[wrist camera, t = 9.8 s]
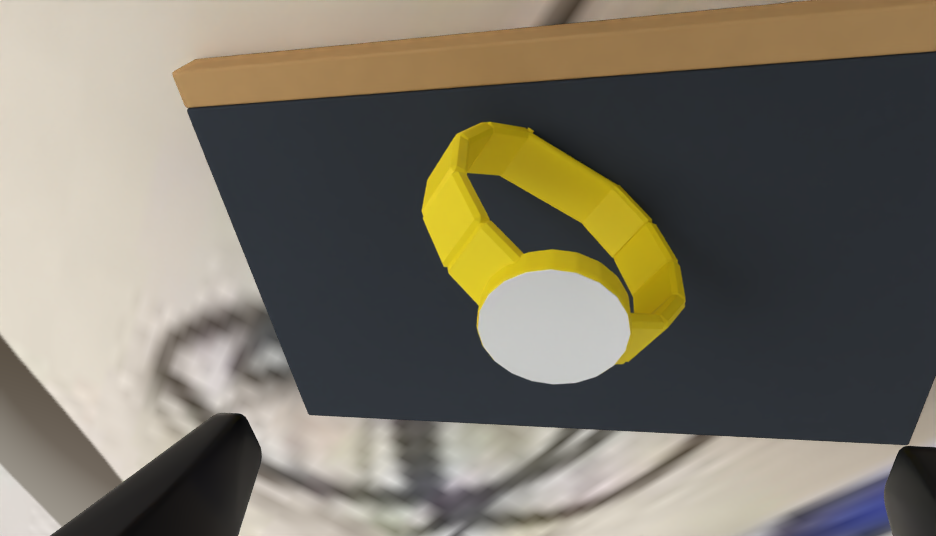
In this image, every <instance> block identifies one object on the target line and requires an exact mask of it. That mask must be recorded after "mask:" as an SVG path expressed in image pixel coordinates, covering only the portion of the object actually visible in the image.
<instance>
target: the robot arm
mask: <svg viewBox="0 0 936 536" xmlns="http://www.w3.org/2000/svg"><path fill="white" fill-rule="evenodd" d="M261 458H262V453H261V447H260V445H259V443H258V441H257V439H256V437H255V435H254V432H253V430H252V428H251V426H250V424H249V422H248V420H247V419H246V417H245V416H243V415H242V414H238V413H218V414H215V415H214V416H212V417H210V418H209V419H208V420H206V421H205V422H204V423H202V424H201V425H200V426H198V427H197V428H196V429H194V430H193V431H191V432H190V433H189V434H187V435H186V436H185V437H183V438H182V439H181V440H179V441H178V442H177V443H175V444H174V445H173V446H171V447H170V448H168V449H167V450H166V451H164V452H163V453H162V454H160V455H159V456H158V457H156V458H155V459H154V460H152V461H151V462H149V463H148V464H147V465H145V466H144V467H143V468H141V469H140V470H139V471H137V472H136V473H135V474H133V475H132V476H131V477H129V478H128V479H126V480H125V481H124V482H122V483H121V484H120V485H118V486H117V487H116V488H114V489H113V490H112V491H110V492H109V493H107V494H106V495H105V496H103V497H102V498H101V499H99V500H98V501H97V502H95V503H94V504H93V505H91V506H90V507H89V508H87V509H86V510H84V511H83V512H82V513H80V514H79V515H78V516H76V517H75V518H74V519H72V520H71V521H70V522H68V523H67V524H66V525H64V526H63V527H61V528H60V529H59V530H57V531H56V532H55V533H53V534H52V535H51V536H238V534H239V531H240V528H241V524H242V521H243V518H244V515H245V512H246V508H247V505H248V502H249V499H250V496H251V493H252V489H253V486H254V483H255V480H256V477H257V474H258V470H259V467H260V464H261ZM884 501H885V507H886V511H887V515H888V519H889V523H890V527H891V530H892V534H893V536H936V448H935V447H918V446H905V447H903V448H902V449H900V450H899V452H898V454H897V456H896V459H895V461H894V464H893V467H892V469H891V472H890V475H889V477H888V480H887V482H886V485H885V490H884Z"/></svg>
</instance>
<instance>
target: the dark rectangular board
mask: <svg viewBox="0 0 936 536" xmlns="http://www.w3.org/2000/svg"><path fill="white" fill-rule="evenodd" d="M172 74H173V77H174V80H175V82H176V85H177V87H178V90H179V92H180V95H181V97H182V100H183V102H184V105H185V106H186V107H187V108H188V110H187V112H188V115H189V117H190V120H191V122H192V125H193V127H194V130H195V132H196V135H197V137H198V140H199V142H200V145H201V147H202V150H203V152H204V155H205V157H206V160H207V162H208V165H209V167H210V170H211V172H212V175H213V177H214V180H215V182H216V185H217V187H218V190H219V192H220V195H221V197H222V200H223V202H224V205H225V207H226V210H227V212H228V215H229V217H230V220H231V222H232V225H233V227H234V230H235V232H236V235H237V237H238V240H239V242H240V245H241V247H242V249H243V252H244V254H245V257H246V259H247V262H248V264H249V267H250V269H251V272H252V274H253V277H254V279H255V282H256V284H257V287H258V289H259V292H260V294H261V297H262V299H263V302H264V304H265V307H266V309H267V312H268V314H269V317H270V319H271V322H272V324H273V327H274V329H275V332H276V334H277V337H278V339H279V342H280V344H281V347H282V349H283V352H284V354H285V357H286V359H287V362H288V364H289V367H290V369H291V372H292V374H293V377H294V379H295V382H296V384H297V387H298V389H299V392H300V394H301V397H302V399H303V402H304V404H305V407H306V409H307V412H308V414H309V415H319V416H339V417H359V418H379V419H398V420H418V421H438V422H458V423H478V424H498V425H517V426H537V427H557V428H577V429H597V430H617V431H636V432H656V433H676V434H696V435H716V436H735V437H755V438H775V439H795V440H815V441H835V442H854V443H874V444H894V445H908V444H909V442H910V439H911V437H912V434H913V432H914V429H915V427H916V424H917V422H918V419H919V417H920V414H921V412H922V409H923V407H924V404H925V402H926V399H927V397H928V394H929V391H930V389H931V386H932V384H933V381H934V379H935V376H936V0H811V1H800V2H790V3H779V4H769V5H759V6H748V7H738V8H727V9H717V10H706V11H696V12H685V13H675V14H664V15H654V16H643V17H633V18H623V19H612V20H602V21H591V22H581V23H570V24H560V25H549V26H539V27H528V28H518V29H508V30H497V31H487V32H476V33H466V34H455V35H445V36H434V37H424V38H413V39H403V40H392V41H382V42H372V43H361V44H351V45H340V46H330V47H319V48H309V49H298V50H288V51H277V52H267V53H257V54H246V55H236V56H225V57H215V58H204V59H195V60H194V61H192V62H190V63H188V64H186V65H184V66H183V67H181V68H179V69H177V70H175V71H174V72H173V73H172ZM482 122H495V123H501V124H507V125H513V126H518V127H524V128H526V129H528V127H529V128H530V129H532V130H533V131H534V132H533V134H535V135H536V136H538V137H539V138H541V139H543V140H544V141H546V142H548V143H549V144H551V145H553V146H554V147H556V148H558V149H559V150H561V151H563V152H564V153H566V154H568V155H569V156H571V157H572V158H574V159H576V160H577V161H579V162H581V163H582V164H584V165H586V166H587V167H589V168H591V169H592V170H594V171H596V172H597V173H599V174H601V175H602V176H604V177H605V178H607V179H609V180H610V181H612V182H614V183H615V184H617V185H620V186H621V187H622V188H623V189H624V190H625V191H626V192H627V194H628V195H629V196H630V197H631V198H632V199H633V200H634V201H635V202H636V203H637V204H638V205H639V206H640V207H641V208H642V209H643V210H644V211H645V212H646V214H647V215H648V216H649V217H650V218H651V219H652V223H653V224H656V225H657V227H658V229H659V230H660V232H661V234H662V235H663V237H664V238H665V240H666V242H667V243H668V245H669V247H670V248H671V250H672V252H673V253H674V255H675V257H676V258H677V260H678V264H679V265H680V269H681V275H682V281H683V287H684V293H685V301H686V302H685V307H684V309H683V310H682V311H681V312H680V314H679V315H678V316H677V317H676V318H675V320H674V321H673V322H672V323H671V325H670V326H669V327H668V328H667V329H666V330H665V331H663V332H662V333H661V334H660V335H659V336H658V337H656V338H655V339H654V340H653V341H652V342H651V343H650V344H648V345H647V346H646V347H645V348H644V349H643V350H641V351H640V352H639V353H638V354H637V355H636V356H635V357H633V358H632V359H631V360H630V361H629V362H625V363H624V364H615V365H614V366H612V367H611V368H609V369H608V370H606V371H605V372H603V373H601V374H600V375H598V376H597V377H593V378H590V379H587V380H584V381H580V382H577V383H567V384H548V383H541V382H535V381H530V380H528V379H525V378H523V377H520V376H518V375H515V374H513V373H511V372H509V371H508V370H507V369H505V368H504V367H502V366H501V365H499V364H498V363H497V362H495V361H494V360H493V359H492V357H491V356H490V355H489V353H488V352H487V351H486V350H485V348H484V347H483V345H482V343H481V340H480V337H479V334H478V331H477V315H478V308H479V306H478V304H477V303H476V302H475V301H474V300H473V299H472V298H471V297H470V296H469V295H468V294H467V293H466V292H465V291H464V290H463V288H462V287H461V286H460V285H459V284H458V283H457V282H456V281H455V280H454V279H453V278H452V277H451V276H450V275H449V274H448V267H444V266H443V264H442V261H441V259H440V257H439V255H438V252H437V250H436V248H435V245H434V243H433V241H432V238H431V236H430V234H429V232H428V229H427V227H426V225H425V222H424V220H423V217H424V216H423V214H422V206H423V201H424V195H425V190H426V184H427V180H428V178H429V176H430V175H431V173H432V172H433V170H434V168H435V167H436V165H437V164H438V162H439V161H440V159H441V157H442V156H443V154H444V153H445V151H446V149H447V148H448V146H449V145H450V143H451V142H452V140H453V138H454V137H455V136H456V134H457V133H459V132H462V131H464V130H466V129H468V128H470V127H472V126H475V125H477V124H479V123H482ZM467 176H468V178H469V180H470V182H471V184H472V186H473V188H474V190H475V192H476V194H477V196H478V197H479V199H480V201H481V203H482V205H483V207H484V209H485V211H486V213H487V215H488V217H489V219H490V221H492V222H493V223H494V224H495V225H496V226H497V227H498V228H499V229H500V230H501V231H502V232H503V233H504V234H505V235H506V236H507V237H508V238H509V239H510V240H511V241H512V242H513V243H514V244H515V245H516V246H517V247H518V248H519V249H520V250H521V251H522V252H523V253H524V254H525V253H528V252H534V251H542V250H550V249H555V250H563V251H570V252H577V253H580V254H582V255H585V256H587V257H589V258H592V259H594V260H597V261H599V262H600V263H602V264H603V265H604V266H606V267H607V268H608V269H609V270H610V271H612V272H613V273H614V274H615V275H616V276H617V277H618V278H619V280H620V282H621V283H622V285H623V287H624V288H625V290H626V292H627V294H628V297H629V304H630V312H631V313H634V304H633V296H632V294H631V292H630V290H629V288H628V286H627V284H626V282H625V281H624V279H623V277H622V275H621V273H620V271H619V269H618V267H617V265H616V263H615V261H614V258H612V257H611V256H610V255H609V254H608V252H607V251H606V250H605V249H604V248H603V247H602V246H601V245H600V244H599V242H598V241H597V240H596V239H595V238H594V237H593V236H592V235H591V233H590V232H589V231H588V230H587V229H586V228H585V227H584V226H583V224H582V223H580V222H579V221H577V220H575V219H573V218H572V217H570V216H568V215H567V214H565V213H563V212H561V211H560V210H558V209H556V208H554V207H553V206H551V205H549V204H548V203H546V202H544V201H542V200H541V199H539V198H537V197H535V196H534V195H532V194H530V193H529V192H527V191H525V190H523V189H522V188H520V187H518V186H516V185H515V184H513V183H511V182H510V181H508V180H506V179H504V178H503V177H501V176H498V175H487V174H475V173H467Z"/></svg>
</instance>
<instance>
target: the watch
mask: <svg viewBox="0 0 936 536" xmlns="http://www.w3.org/2000/svg"><path fill="white" fill-rule="evenodd" d="M533 132H534V131H533V130H532V129H530V128H529V127H528V129H526V128H524V127H518V126H513V125H507V124H501V123H495V122H482V123H479V124H477V125H475V126H472V127H470V128H468V129H466V130H464V131H462V132H459V133H457V134H456V136H455V137H454V138H453V140H452V142H451V143H450V145H449V146H448V148H447V149H446V151H445V153H444V154H443V156H442V157H441V159H440V161H439V162H438V164H437V165H436V167H435V168H434V170H433V172H432V173H431V175H430V176H429V178H428V180H427V184H426V190H425V195H424V201H423V206H422V214H423V216H424V217H423V220H424V222H425V225H426V227H427V229H428V232H429V234H430V236H431V238H432V241H433V243H434V245H435V248H436V250H437V252H438V255H439V257H440V259H441V261H442V264H443V266H444V267H448V274H449V275H450V276H451V277H452V278H453V279H454V280H455V281H456V282H457V283H458V284H459V285H460V286H461V287H462V288H463V290H464V291H465V292H466V293H467V294H468V295H469V296H470V297H471V298H472V299H473V300H474V301H475V302H476V303H477V304H478V306H479V308H478V315H477V331H478V334H479V337H480V340H481V343H482V345H483V347H484V348H485V350H486V351H487V352H488V353H489V355H490V356H491V357H492V359H493V360H494V361H495V362H497V363H498V364H499V365H501V366H502V367H504V368H505V369H507V370H508V371H509V372H511V373H513V374H515V375H518V376H520V377H523V378H525V379H528V380H530V381H535V382H541V383H548V384H567V383H577V382H580V381H584V380H587V379H590V378H593V377H597V376H598V375H600V374H601V373H603V372H605V371H606V370H608V369H609V368H611V367H612V366H614V365H615V364H624V363H625V362H629V361H630V360H631V359H632V358H633V357H635V356H636V355H637V354H638V353H639V352H640V351H641V350H643V349H644V348H645V347H646V346H647V345H648V344H650V343H651V342H652V341H653V340H654V339H655V338H656V337H658V336H659V335H660V334H661V333H662V332H663V331H665V330H666V329H667V328H668V327H669V326H670V325H671V323H672V322H673V321H674V320H675V318H676V317H677V316H678V315H679V314H680V312H681V311H682V310H683V309H684V307H685V302H686V301H685V293H684V287H683V281H682V275H681V269H680V265H679V264H678V260H677V258H676V257H675V255H674V253H673V252H672V250H671V248H670V247H669V245H668V243H667V242H666V240H665V238H664V237H663V235H662V234H661V232H660V230H659V229H658V227H657V225H656V224H653V223H652V219H651V218H650V217H649V216H648V215H647V214H646V212H645V211H644V210H643V209H642V208H641V207H640V206H639V205H638V204H637V203H636V202H635V201H634V200H633V199H632V198H631V197H630V196H629V195H628V194H627V192H626V191H625V190H624V189H623V188H622V187H621V186H620V185H617V184H615V183H614V182H612V181H610V180H609V179H607V178H605V177H604V176H602V175H601V174H599V173H597V172H596V171H594V170H592V169H591V168H589V167H587V166H586V165H584V164H582V163H581V162H579V161H577V160H576V159H574V158H572V157H571V156H569V155H568V154H566V153H564V152H563V151H561V150H559V149H558V148H556V147H554V146H553V145H551V144H549V143H548V142H546V141H544V140H543V139H541V138H539V137H538V136H536V135H535V134H533ZM467 173H475V174H487V175H498V176H501V177H503V178H504V179H506V180H508V181H510V182H511V183H513V184H515V185H516V186H518V187H520V188H522V189H523V190H525V191H527V192H529V193H530V194H532V195H534V196H535V197H537V198H539V199H541V200H542V201H544V202H546V203H548V204H549V205H551V206H553V207H554V208H556V209H558V210H560V211H561V212H563V213H565V214H567V215H568V216H570V217H572V218H573V219H575V220H577V221H579V222H580V223H582V224H583V226H584V227H585V228H586V229H587V230H588V231H589V232H590V233H591V235H592V236H593V237H594V238H595V239H596V240H597V241H598V242H599V244H600V245H601V246H602V247H603V248H604V249H605V250H606V251H607V252H608V254H609V255H610V256H611V257H612V258H614V261H615V263H616V265H617V267H618V269H619V271H620V273H621V275H622V277H623V279H624V281H625V282H626V284H627V286H628V288H629V290H630V292H631V294H632V296H633V304H634V313H631V312H630V304H629V297H628V294H627V292H626V290H625V288H624V287H623V285H622V283H621V282H620V280H619V278H618V277H617V276H616V275H615V274H614V273H613V272H612V271H610V270H609V269H608V268H607V267H606V266H604V265H603V264H602V263H600V262H599V261H597V260H594V259H592V258H589V257H587V256H585V255H582V254H580V253H577V252H570V251H563V250H555V249H550V250H542V251H534V252H528V253H525V254H524V253H523V252H522V251H521V250H520V249H519V248H518V247H517V246H516V245H515V244H514V243H513V242H512V241H511V240H510V239H509V238H508V237H507V236H506V235H505V234H504V233H503V232H502V231H501V230H500V229H499V228H498V227H497V226H496V225H495V224H494V223H493V222H492V221H490V219H489V217H488V215H487V213H486V211H485V209H484V207H483V205H482V203H481V201H480V199H479V197H478V196H477V194H476V192H475V190H474V188H473V186H472V184H471V182H470V180H469V178H468V176H467Z"/></svg>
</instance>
